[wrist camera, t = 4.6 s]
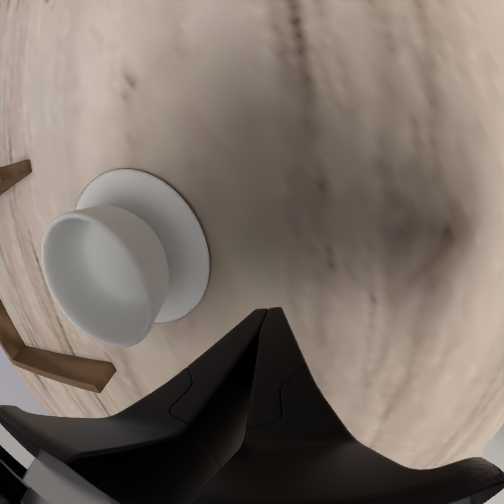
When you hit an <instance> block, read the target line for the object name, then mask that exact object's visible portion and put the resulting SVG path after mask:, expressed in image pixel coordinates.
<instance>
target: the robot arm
mask: <svg viewBox="0 0 504 504" xmlns="http://www.w3.org/2000/svg"><path fill="white" fill-rule="evenodd" d="M0 423H1V424H2V426H3V427H4V428H5V429H6V430H7V431H8V432H9V433H10V434H11V435H12V436H13V437H14V438H15V439H16V440H17V441H18V442H19V443H20V444H21V445H22V446H23V447H24V448H25V449H26V450H27V451H28V452H30V453H31V454H32V455H33V456H34V457H35V459H34V460H33V462H32V463H31V465H30V467H29V468H28V469H26V468H25V467H24V466H23V465H21V464H20V463H19V462H18V461H16V459H14V458H13V457H12V456H11V455H10V454H9V453H8V452H7V451H6V450H5V449H4V448H3V447H2V446H1V445H0V504H483V503H485V502H486V501H488V500H489V499H490V498H491V497H493V496H495V495H496V494H497V493H498V492H500V491H501V490H502V489H503V488H504V472H503V471H501V470H500V468H498V467H497V466H495V465H494V464H492V463H490V462H489V461H487V460H485V459H483V458H481V457H472V458H467V459H464V460H460V461H457V462H454V463H451V464H448V465H445V466H442V467H438V468H433V469H423V470H418V469H411V468H408V467H405V466H402V465H400V464H398V463H396V462H394V461H392V460H390V459H389V458H387V457H385V456H383V455H381V454H379V453H377V452H376V451H374V450H372V449H370V448H368V447H367V446H365V445H363V444H361V443H360V442H359V441H357V440H356V439H355V438H354V437H353V436H352V434H351V433H350V432H349V431H348V430H347V428H346V427H345V426H344V424H343V423H342V421H341V420H340V419H339V417H338V416H337V414H336V413H335V412H334V410H333V409H332V407H331V406H330V405H329V403H328V402H327V400H326V399H325V398H324V396H323V394H322V393H321V391H320V390H319V388H318V386H317V385H316V383H315V381H314V379H313V377H312V375H311V372H310V370H309V368H308V366H307V364H306V361H305V359H304V357H303V355H302V352H301V350H300V348H299V346H298V343H297V341H296V339H295V336H294V334H293V332H292V330H291V327H290V325H289V323H288V321H287V318H286V316H285V314H284V312H283V309H282V308H281V307H275V308H269V309H267V308H264V309H256V310H254V311H253V312H252V313H251V314H250V315H248V316H247V317H246V318H245V319H244V320H243V321H241V322H240V323H239V324H238V325H237V326H236V327H234V328H233V329H232V330H231V331H230V332H229V333H227V334H226V335H225V336H224V337H223V338H221V339H220V340H219V341H218V342H217V343H215V344H214V345H213V346H212V347H211V348H209V349H208V350H207V351H206V352H205V353H203V354H202V355H201V356H200V357H199V358H197V359H196V360H195V361H194V362H192V363H191V364H190V365H189V366H188V368H185V369H184V370H182V371H181V372H180V373H179V374H177V375H176V376H175V377H173V378H172V379H171V380H169V381H168V382H167V383H165V384H164V385H162V386H161V387H159V388H158V389H156V390H155V391H153V392H152V393H150V394H149V395H147V396H146V397H144V398H142V399H141V400H139V401H138V402H136V403H134V404H133V405H131V406H130V407H128V408H126V409H125V410H123V411H121V412H119V413H118V414H115V415H113V416H110V417H106V418H70V417H56V416H45V415H37V414H32V413H28V412H25V411H23V410H21V409H20V408H18V407H16V406H9V405H0Z"/></svg>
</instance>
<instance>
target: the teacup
mask: <svg viewBox="0 0 504 504" xmlns="http://www.w3.org/2000/svg"><path fill="white" fill-rule="evenodd" d="M41 262H42V268H43V273H44V276H45V280H46V283H47V285H48V288H49V290H50V292H51V294H52V296H53V298H54V300H55V301H56V303H57V304H58V306H59V307H60V309H61V310H62V312H63V313H64V314H65V315H66V317H67V318H68V319H69V320H70V321H71V322H72V323H73V324H74V325H75V326H76V327H77V328H78V329H80V330H81V331H82V332H83V333H85V334H86V335H88V336H89V337H91V338H93V339H94V340H96V341H98V342H101V343H103V344H106V345H109V346H114V347H129V346H133V345H135V344H137V343H139V342H141V341H142V340H143V339H144V338H145V337H146V336H147V334H148V333H149V331H150V329H151V327H152V325H153V323H165V322H171V321H175V320H177V319H180V318H182V317H184V316H185V315H187V314H188V313H190V312H191V311H192V310H193V309H194V308H195V307H196V306H197V305H198V303H199V302H200V300H201V299H202V297H203V295H204V293H205V290H206V287H207V284H208V279H209V271H210V264H209V253H208V248H207V243H206V240H205V236H204V234H203V231H202V229H201V226H200V224H199V222H198V220H197V218H196V217H195V215H194V213H193V212H192V210H191V209H190V207H189V206H188V204H187V203H186V202H185V201H184V200H183V198H182V197H181V196H180V195H179V194H178V193H177V192H176V191H175V190H174V189H173V188H171V187H170V186H169V185H167V184H166V183H165V182H163V181H162V180H160V179H159V178H157V177H155V176H153V175H150V174H148V173H146V172H142V171H139V170H133V169H116V170H111V171H108V172H105V173H103V174H101V175H99V176H98V177H96V178H95V179H94V180H92V181H91V182H90V183H89V184H88V185H87V186H86V188H85V189H84V190H83V192H82V193H81V195H80V197H79V199H78V201H77V204H76V207H75V211H73V212H69V213H65V214H62V215H60V216H58V217H57V218H55V219H54V220H53V221H52V222H51V223H50V224H49V226H48V227H47V229H46V231H45V233H44V236H43V240H42V245H41Z"/></svg>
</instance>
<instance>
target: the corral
mask: <svg viewBox="0 0 504 504" xmlns="http://www.w3.org/2000/svg"><path fill="white" fill-rule="evenodd" d="M31 172H32V170H31V166H30V161H29V160H25V161H21V162H18V163H14V164H10V165H7V166H4V167H0V195H1V194H2V193H4V192H5V191H6V190H8V189H9V188H10V187H11V186H13V185H14V184H16V183H17V182H18V181H20V180H21V179H22V178H24V177H25V176H27V175H28V174H29V173H31ZM0 344H1V346H2V348H3V349H4V351H5V353H6V354H7V356H8V357H9V359H10V360H11V362H12V363H13V365H16V366H18V367H20V368H23V369H25V370H28V371H30V372H33V373H36V374H38V375H41V376H44V377H47V378H50V379H53V380H56V381H59V382H62V383H65V384H68V385H71V386H75V387H78V388H81V389H85V390H89V391H92V392H96V393H101V392H102V390H103V389H104V387H105V386H106V384H107V383H108V382H109V380H110V379H111V377H112V376H113V375H114V373H115V372H116V370H115V368H114V366H113V365H112V363H110V362H103V361H96V360H90V359H84V358H79V357H73V356H68V355H63V354H58V353H53V352H49V351H44V350H40V349H36V348H32V347H28V346H25V344H24V343H23V341H22V339H21V338H20V336H19V334H18V332H17V331H16V329H15V327H14V325H13V323H12V322H11V320H10V318H9V316H8V314H7V312H6V310H5V308H4V306H3V304H2V302H1V300H0Z"/></svg>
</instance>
